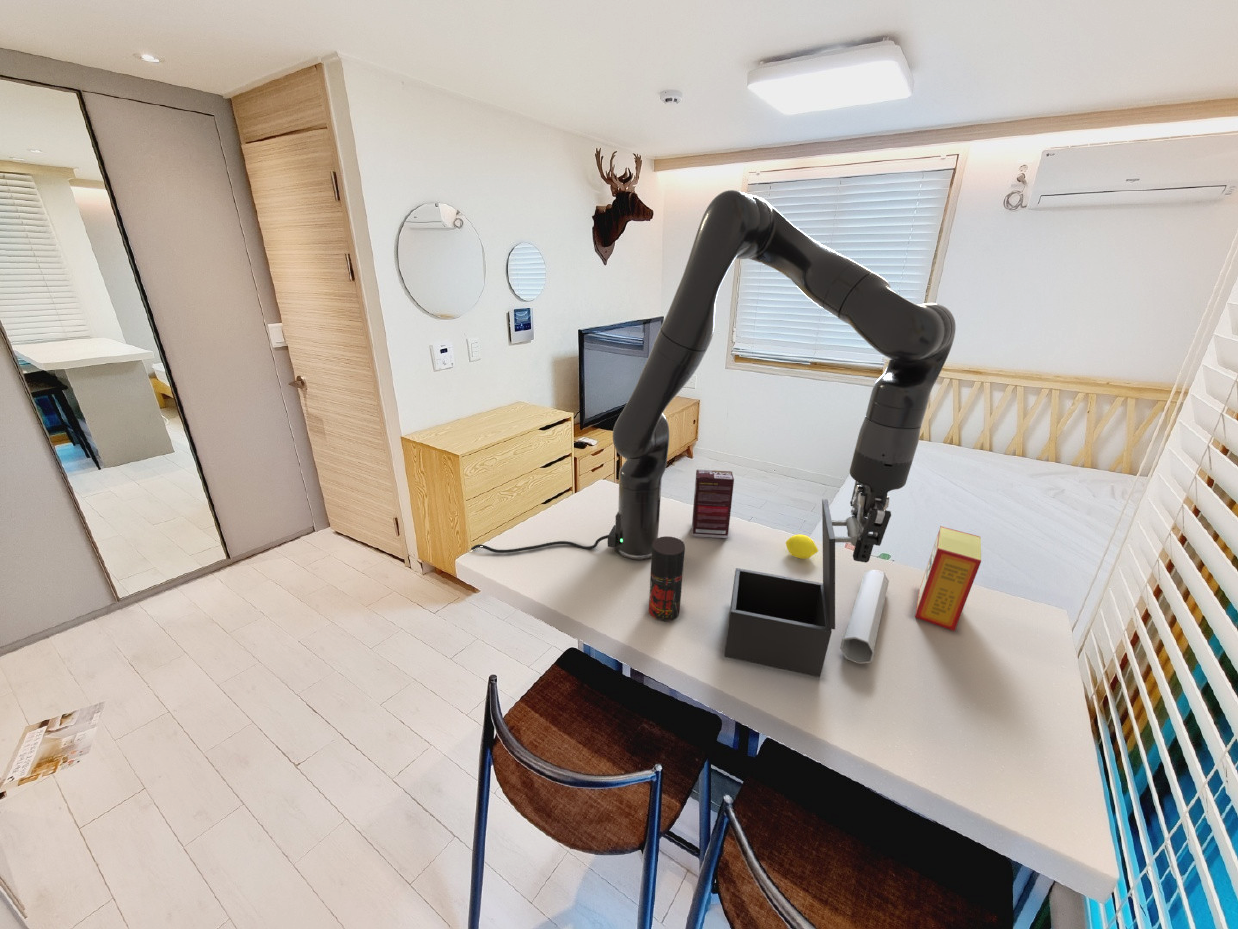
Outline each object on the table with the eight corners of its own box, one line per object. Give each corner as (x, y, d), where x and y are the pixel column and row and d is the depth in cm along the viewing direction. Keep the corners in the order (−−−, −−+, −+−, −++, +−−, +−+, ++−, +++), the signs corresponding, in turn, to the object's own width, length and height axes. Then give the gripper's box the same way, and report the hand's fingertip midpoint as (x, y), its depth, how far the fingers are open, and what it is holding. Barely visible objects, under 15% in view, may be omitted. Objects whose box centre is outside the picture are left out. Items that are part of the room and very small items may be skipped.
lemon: (781, 558, 113) (785, 538, 111) (786, 546, 118) (790, 526, 115) (813, 567, 110) (818, 546, 108) (817, 555, 115) (822, 535, 112)
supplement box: (725, 528, 124) (733, 470, 118) (727, 539, 120) (735, 479, 113) (690, 526, 125) (695, 468, 119) (691, 536, 121) (696, 477, 114)
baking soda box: (918, 591, 104) (940, 524, 97) (955, 603, 100) (981, 534, 94) (914, 617, 96) (938, 547, 90) (954, 631, 93) (981, 559, 86)
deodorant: (643, 605, 98) (646, 540, 92) (670, 597, 100) (675, 533, 94) (657, 625, 93) (661, 557, 87) (685, 616, 95) (691, 550, 89)
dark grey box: (724, 656, 86) (730, 611, 82) (730, 609, 97) (735, 567, 93) (820, 677, 83) (831, 631, 79) (814, 626, 94) (824, 583, 90)
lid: (829, 538, 72) (867, 539, 71) (822, 499, 84) (855, 498, 82) (829, 629, 78) (864, 631, 77) (822, 581, 90) (853, 582, 88)
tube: (861, 563, 105) (837, 635, 86) (889, 565, 102) (872, 639, 83) (864, 586, 106) (842, 661, 87) (892, 588, 103) (876, 666, 84)
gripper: (849, 429, 79) (827, 521, 86) (863, 466, 66) (836, 570, 73) (902, 436, 77) (875, 529, 84) (926, 474, 64) (892, 580, 71)
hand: (857, 548), depth 79 cm, fingers closed on lid, 6 cm apart
